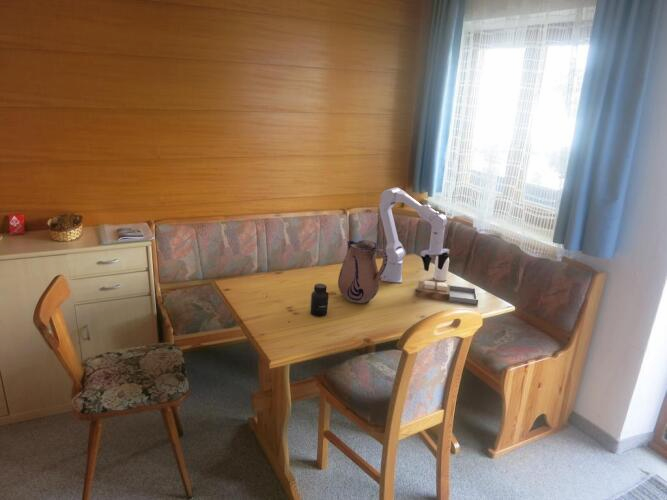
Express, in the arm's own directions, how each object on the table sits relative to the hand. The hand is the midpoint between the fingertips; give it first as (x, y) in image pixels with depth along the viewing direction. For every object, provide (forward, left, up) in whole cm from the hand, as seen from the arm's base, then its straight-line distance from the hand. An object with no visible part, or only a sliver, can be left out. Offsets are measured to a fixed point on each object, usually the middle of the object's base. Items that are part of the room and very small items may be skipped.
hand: (433, 269), depth 221 cm
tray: (+14, -5, -10) cm, 18 cm away
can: (+4, +16, -10) cm, 19 cm away
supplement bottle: (-43, -42, -10) cm, 61 cm away
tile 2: (+5, -5, -7) cm, 10 cm away
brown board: (+1, -5, -10) cm, 11 cm away
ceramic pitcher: (-29, -23, -10) cm, 38 cm away
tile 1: (-1, -5, -7) cm, 9 cm away
